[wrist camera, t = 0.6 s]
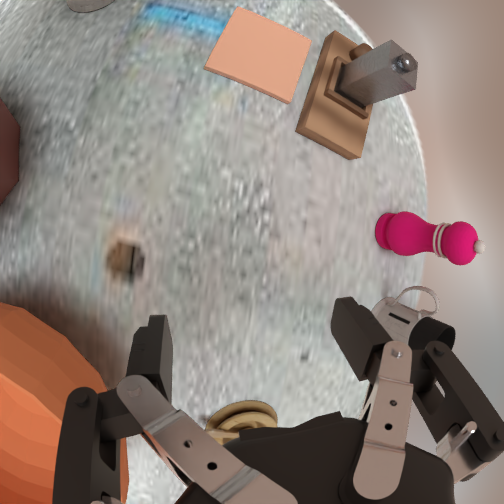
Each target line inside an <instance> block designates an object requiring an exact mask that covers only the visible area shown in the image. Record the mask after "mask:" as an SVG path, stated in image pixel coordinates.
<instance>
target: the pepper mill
mask: <svg viewBox="0 0 504 504" xmlns="http://www.w3.org/2000/svg"><path fill="white" fill-rule="evenodd" d="M375 234H376V239H377V242H378V244H379V245H380V246H381V247H382V248H385V249H389V250H393V251H394V252H395V253H396V254H398V255H403V256H410V255H415V254H418V253H421V252H434V253H435V254H436V255H437V256H438V257H443V258H448V259H449V261H450V262H452V263H453V264H456V265H466V264H468V263H470V262H471V261H472V260H473V259H474V257H475V255H476V253H479V254H481V253H482V252H484V250H485V244H484V242H483V241H481V240H478V236H477V233H476V231H475V229H474V228H473V227H472V226H471V225H470V224H468V223H466V222H455V223H453V224H452V225H451V224H449V223H447V224H446V223H441V224H439V225H433V224H430V223H427V222H426V221H424V220H423V219H421V218H420V217H419V216H417V215H415V214H413V213H410V212H400V213H398V214H393V213H386V214H384V215H382V216H381V217H380V218H379V220H378V222H377V225H376V230H375Z"/></svg>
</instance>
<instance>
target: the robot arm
mask: <svg viewBox="0 0 504 504" xmlns="http://www.w3.org/2000/svg"><path fill="white" fill-rule="evenodd" d="M66 1H67V4H68V6H69V8H70V9H71V10H73V11H76V12H90V11H94V10H97V9H100V8H102V7H105V6H107V5H108V4H110V3H111V2H113V1H114V0H66ZM331 332H332V335H333V337H334V338H335V340H336V342H337V343H338V345H339V347H340V349H341V350H342V352H343V354H344V356H345V357H346V359H347V361H348V362H349V364H350V366H351V368H352V369H353V371H354V373H355V375H356V376H357V378H358V380H359V381H363V380H366V379H368V380H369V382H370V383H369V385H368V388H367V391H366V395H365V399H364V402H363V406H362V409H361V412H360V415H359V418H358V419H355V418H346V417H342V415H341V413H340V411H338V412H334V413H330V414H326V415H322V416H318V417H315V418H313V419H311V420H309V421H307V422H305V423H303V424H300V425H298V426H296V427H293V428H281V427H260V428H253V429H245V430H238V431H239V437H238V438H235V439H232V440H230V441H228V442H227V443H225V444H223V445H221V444H219V443H218V442H217V441H216V440H215V439H214V438H212V437H211V436H210V435H209V434H208V433H207V432H206V431H205V430H203V429H202V428H201V427H200V426H199V425H198V424H197V423H196V422H195V421H194V420H193V419H191V418H190V417H189V416H188V415H187V414H186V413H185V412H184V411H182V410H176V409H175V408H174V407H173V406H172V405H171V402H172V363H173V345H172V338H171V334H170V329H169V324H168V319H167V315H150V318H149V323H148V327H140V328H139V329H138V330H137V331H136V333H135V334H134V337H133V342H132V347H131V352H130V357H129V362H128V367H127V373H126V377H125V378H123V379H122V380H121V381H120V382H119V383H118V385H117V388H115V389H113V390H110V391H106V392H102V393H96V392H95V391H94V390H93V389H92V388H89V387H79V388H76V389H74V390H73V391H72V392H71V393H70V394H69V395H68V397H67V401H66V405H65V410H64V415H63V420H62V425H61V431H60V437H59V443H58V450H57V457H56V465H55V473H54V484H53V497H52V504H123V503H122V502H121V485H120V447H121V439H122V438H126V437H130V436H134V435H137V434H141V436H142V437H143V438H144V439H145V441H146V442H147V443H148V444H149V445H150V447H151V448H152V449H153V450H154V451H155V452H156V453H157V455H158V456H159V457H160V458H161V459H162V460H163V461H164V463H165V464H166V465H167V466H168V467H169V469H170V470H171V471H172V472H173V473H174V474H175V475H176V477H177V478H178V479H179V480H180V481H181V482H182V483H183V484H184V485H185V486H186V487H187V489H186V490H185V491H184V493H183V494H182V495H181V496H180V498H179V499H178V500H177V501H176V503H175V504H455V500H454V484H455V483H457V482H458V481H462V482H463V481H467V480H469V479H471V478H472V477H473V476H474V475H476V474H477V473H478V472H480V471H481V470H482V469H483V468H485V467H486V466H487V465H488V464H490V463H491V462H492V461H493V460H494V459H495V458H497V457H498V456H499V455H500V454H501V453H502V452H503V451H504V422H503V421H502V419H501V418H500V416H499V415H498V413H497V412H496V410H495V409H494V407H493V406H492V404H491V403H490V402H489V400H488V398H487V397H486V396H485V394H484V393H483V391H482V390H481V389H480V387H479V386H478V385H477V383H476V382H475V381H474V379H473V378H472V377H471V375H470V374H469V372H468V371H467V370H466V369H465V367H464V366H463V365H462V363H461V362H460V361H459V359H458V358H457V357H456V356H455V354H454V353H453V352H452V351H451V349H450V348H449V347H448V346H447V345H446V344H445V343H443V342H440V341H431V342H429V343H428V344H427V346H426V348H425V350H411V348H410V347H409V346H408V345H407V344H405V343H403V342H401V341H394V340H393V339H392V338H391V336H390V335H389V334H388V333H387V331H386V330H385V329H384V327H383V326H382V325H381V324H380V323H379V321H378V320H377V319H376V318H375V316H374V315H373V314H372V312H371V311H370V310H369V309H367V308H366V307H364V306H362V305H358V304H357V302H356V301H355V300H354V298H353V297H344V298H337V299H336V301H335V304H334V310H333V315H332V320H331ZM436 381H438V382H439V384H440V385H441V386H442V388H443V390H444V392H445V398H444V397H443V395H442V394H441V392H440V391H439V389H438V387H437V386H436V384H435V383H436ZM412 400H413V401H414V403H415V405H416V407H417V408H418V410H419V412H420V414H421V416H422V417H423V419H424V421H425V423H426V425H427V426H428V428H429V430H430V432H431V434H432V435H433V437H434V439H435V441H436V443H437V446H436V454H437V455H436V456H435V455H433V454H431V453H429V452H426V451H424V450H422V449H420V448H418V447H415V446H413V445H411V444H409V443H407V442H405V441H406V436H407V430H408V424H409V417H410V410H411V403H412Z"/></svg>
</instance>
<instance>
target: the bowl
mask: <svg viewBox="0 0 504 504" xmlns="http://www.w3.org/2000/svg"><path fill="white" fill-rule="evenodd" d="M79 387H89V388H92V389H93V390H94V391H95V392H96V393H102V392H106V391H108V390H107V388H106V386H105V384H104V382H103V380H102V378H101V376H100V374H99V373H98V372H97V371H96V370H95V369H94V368H93V367H92V365H91V364H90V363H89V362H88V361H87V360H86V359H85V358H84V357H83V356H82V355H81V354H80V353H79V352H78V350H77V349H76V348H75V347H74V346H73V345H72V344H71V343H70V341H69V340H68V339H67V338H66V337H65V336H64V335H62V334H61V333H59V332H58V331H56V330H54V329H53V328H51V327H50V326H48V325H47V324H45V323H44V322H42V321H41V320H39V319H38V318H36V317H35V316H34V315H32V314H31V313H29V312H28V311H27V310H25V309H24V308H20V307H16V306H12V305H9V304H5V303H1V302H0V504H52V497H53V484H54V473H55V465H56V457H57V450H58V443H59V437H60V431H61V425H62V420H63V415H64V410H65V405H66V401H67V397H68V395H69V394H70V393H71V392H72V391H73V390H74V389H76V388H79ZM120 485H121V502H122V503H123V504H125V503H126V499H127V492H128V485H129V472H128V459H127V446H126V438H122V439H121V447H120Z"/></svg>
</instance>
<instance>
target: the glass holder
mask: <svg viewBox="0 0 504 504" xmlns="http://www.w3.org/2000/svg"><path fill="white" fill-rule="evenodd" d="M413 289H417V290H422V291H426V292H427V293H429V294H431V295H432V296H433V298H434V300H435V303H436V310H435V311H434V312H429V311H426V310H421V311H417V310H414V309H412V308H410V307H407V306H405V305H403V304H400V303H398V302H397V301H398V300H399V299H400V297H401V296H402V295H403V294H404V293H405V292H406V291H409V290H413ZM439 307H440V304H439V299H438V297H437V295H436V294H435V293H434V292H433V291H432V290H430V289H428V288H426V287H422V286H413V287H409V288H406V289H405V290H403V291H402V292H401V294H400V295H399V296H398V297H397V299H394V298H392V297H387V298H384V299H382V300H381V301H379V302H378V303H377V304H376V305H375V307H374V308H373V310H372V311H371V312H372V314H373V315H374V316H375V318H376V319H377V320H378V321H379V323H380V324H381V325H382V326H383V327H384V329H385V330H386V331H387V333H388V334H389V335H390V336H391V338H392V339H393V340H394V341H401V342H403V343H405V344H407V345H408V346H409V347H410V348H411V350H425V348H426V346H427V344H428V343H429V342H431V341H440V342H443V343H445V344H446V345H447V346H448V347H449V348H450V349H451V350H452V348H453V345H454V341H455V329H454V328H453V327H452V326H449V325H447V324H445V323H442V322H440V321H438V320H435V319H433V318H432V317H431V316H429V315H434V314H436V313H437V311H438V310H439Z"/></svg>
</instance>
